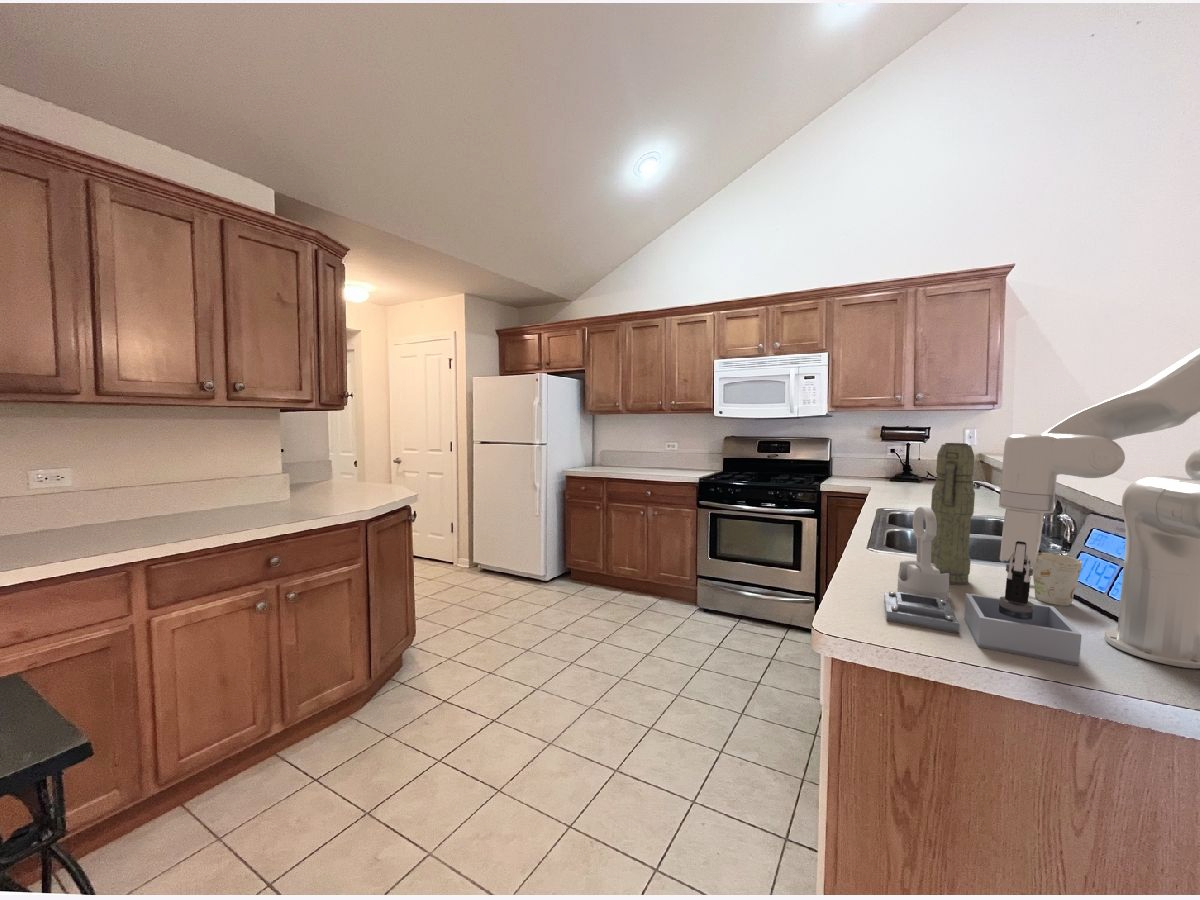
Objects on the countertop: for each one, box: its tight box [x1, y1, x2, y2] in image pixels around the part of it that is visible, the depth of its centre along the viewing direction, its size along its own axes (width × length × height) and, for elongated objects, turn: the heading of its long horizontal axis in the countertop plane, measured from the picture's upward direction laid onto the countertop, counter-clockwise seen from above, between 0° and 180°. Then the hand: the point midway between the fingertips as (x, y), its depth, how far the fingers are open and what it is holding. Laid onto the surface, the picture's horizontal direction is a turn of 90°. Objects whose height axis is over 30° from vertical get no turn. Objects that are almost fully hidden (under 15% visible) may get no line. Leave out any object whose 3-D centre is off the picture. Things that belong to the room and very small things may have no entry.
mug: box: [1006, 552, 1083, 607], centre depth 111 cm, size 8×13×10 cm, turn 41°
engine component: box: [896, 506, 950, 602], centre depth 113 cm, size 11×20×10 cm
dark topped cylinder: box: [999, 563, 1035, 620], centre depth 90 cm, size 5×5×9 cm
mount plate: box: [883, 590, 960, 634], centre depth 101 cm, size 12×12×3 cm
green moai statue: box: [930, 442, 976, 586], centre depth 123 cm, size 9×12×35 cm
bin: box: [963, 592, 1082, 667], centre depth 90 cm, size 14×14×6 cm
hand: (1016, 597), depth 90 cm, fingers closed on dark topped cylinder, 3 cm apart
